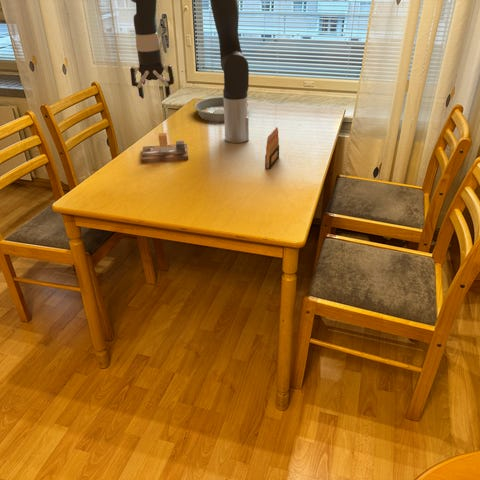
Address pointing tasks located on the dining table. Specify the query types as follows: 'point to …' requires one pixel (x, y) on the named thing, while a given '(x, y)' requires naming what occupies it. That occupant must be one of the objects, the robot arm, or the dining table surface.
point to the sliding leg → (163, 142)
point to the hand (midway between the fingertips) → (155, 97)
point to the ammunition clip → (272, 149)
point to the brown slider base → (165, 153)
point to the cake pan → (208, 103)
